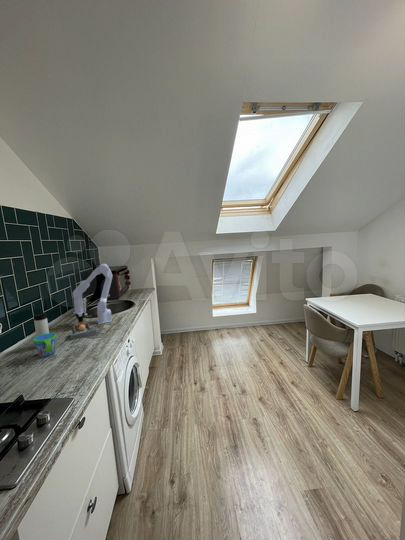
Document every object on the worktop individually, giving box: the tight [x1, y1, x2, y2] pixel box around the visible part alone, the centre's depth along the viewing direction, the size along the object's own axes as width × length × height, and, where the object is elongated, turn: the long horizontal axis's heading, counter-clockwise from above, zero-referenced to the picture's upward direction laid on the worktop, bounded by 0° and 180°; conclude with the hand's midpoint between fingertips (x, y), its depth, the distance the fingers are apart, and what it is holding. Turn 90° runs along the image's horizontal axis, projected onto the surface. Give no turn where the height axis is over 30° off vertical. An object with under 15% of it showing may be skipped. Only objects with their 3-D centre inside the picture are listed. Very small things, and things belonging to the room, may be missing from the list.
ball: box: [78, 324, 86, 331], centre depth 157 cm, size 4×4×4 cm
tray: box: [69, 325, 97, 341], centre depth 149 cm, size 14×9×3 cm, turn 122°
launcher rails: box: [72, 322, 92, 334], centre depth 160 cm, size 10×13×1 cm
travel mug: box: [33, 312, 50, 337], centre depth 134 cm, size 6×7×20 cm
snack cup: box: [32, 332, 58, 358], centre depth 124 cm, size 16×10×10 cm
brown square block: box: [75, 320, 88, 330], centre depth 162 cm, size 6×6×3 cm
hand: (80, 323), depth 167 cm, fingers closed
